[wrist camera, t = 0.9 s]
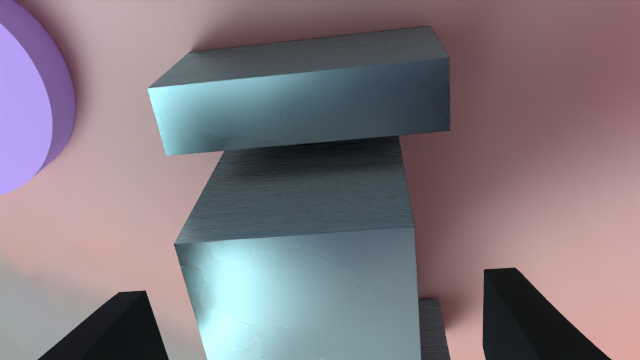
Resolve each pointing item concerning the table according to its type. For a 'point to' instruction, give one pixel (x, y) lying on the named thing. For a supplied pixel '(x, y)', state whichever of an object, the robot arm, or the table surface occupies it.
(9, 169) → the bracket
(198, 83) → the vise jaws
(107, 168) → the table surface
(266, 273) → the steel block
